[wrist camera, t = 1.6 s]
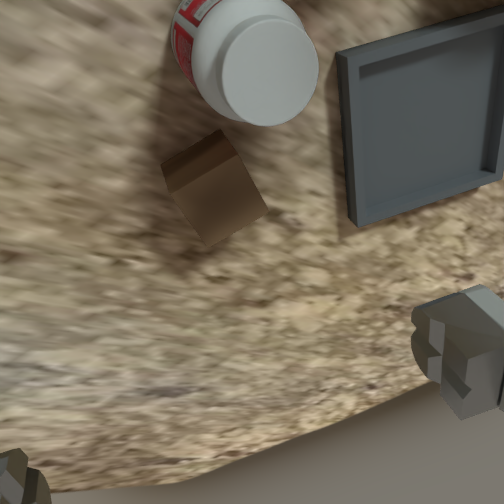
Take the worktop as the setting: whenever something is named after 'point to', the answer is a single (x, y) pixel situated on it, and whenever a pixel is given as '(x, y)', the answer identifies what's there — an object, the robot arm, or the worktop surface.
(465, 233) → the worktop surface
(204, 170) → the walnut cube
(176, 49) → the pill bottle
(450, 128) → the tray
